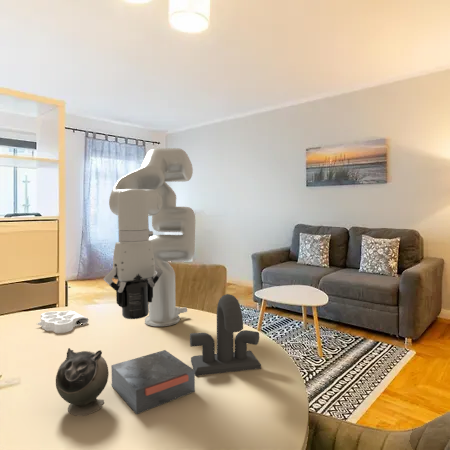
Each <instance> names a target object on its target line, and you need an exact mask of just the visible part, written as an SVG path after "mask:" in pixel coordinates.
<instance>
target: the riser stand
mask: <svg viewBox="0 0 450 450" xmlns="http://www.w3.org/2000/svg"><path fill="white" fill-rule="evenodd" d="M195 377H196V376H195V370H194V369H193V367H190V365H188V364H186V363H185V362H183V360H180V359H179V358H177V357H176V356H175V355H173V354H172V353H170V352H169V351H167V350H166V349H164V350H160V351H157V352H153V353H150V354H146V355H143V356H140V357H137V358H136V357H135V358H132V359H129V360H128V359H127V360H124V361H122V362H117V363H115V364H111V387H112V388H113V389H114V390H115V392H116V393H117V394H118V395H119V396H120V397H121V398H122V400H123V401H124V402H125V403H126V404H127V406H129V408H131V410H132V411H133V412H134V413H135V415H138V414H140V413H143V412H146V411H148V410H151V409H153V408H157V407H158V406H161V405H163V404H164V405H165V404H166V403H169V402H172V401H174V400H177V399H179V398H181V397H182V398H183V397H184V396H187V395H190V394H192V393H194V392H195V391H196V386H195V384H196V383H195V381H196V380H195V379H196V378H195Z"/></svg>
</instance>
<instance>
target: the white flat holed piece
mask: <svg viewBox="0 0 450 450" xmlns="http://www.w3.org/2000/svg"><path fill="white" fill-rule="evenodd" d="M78 321H79V322H80V323H82V324H83V325H82V326H84V325H86V324H87V323H89V318H88V317H86V316H84V315H83V314H80V313H78V312H77V311H75V310H65V311H64V310H63V311H57V310H54V311H46V312H43V313H41V314H40V321H39V322H37V323H36V325H38V326H41V329H43V330H44V331H47V332H54V333H55V334H65V333H68V332H71V331H73V330H74V328H75V326H76V327H78V326H79V327H80V323H79V322H78ZM77 323H78V324H77ZM73 327H74V328H73Z"/></svg>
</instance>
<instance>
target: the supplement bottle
mask: <svg viewBox="0 0 450 450" xmlns="http://www.w3.org/2000/svg"><path fill="white" fill-rule="evenodd" d="M141 278H142V277H140V275H139V273H138V276H137V275H136V277H135V278H134V279H136V280H133V281H128V282H126V284H125V287H124V289H123V292H125V307H124V308H122V307H121V313H122V317H123V318H125V319H127V320H138V319H142V318H146V317H147V316H149V302H148V283H147V281H146V280H144V279H141Z"/></svg>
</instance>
